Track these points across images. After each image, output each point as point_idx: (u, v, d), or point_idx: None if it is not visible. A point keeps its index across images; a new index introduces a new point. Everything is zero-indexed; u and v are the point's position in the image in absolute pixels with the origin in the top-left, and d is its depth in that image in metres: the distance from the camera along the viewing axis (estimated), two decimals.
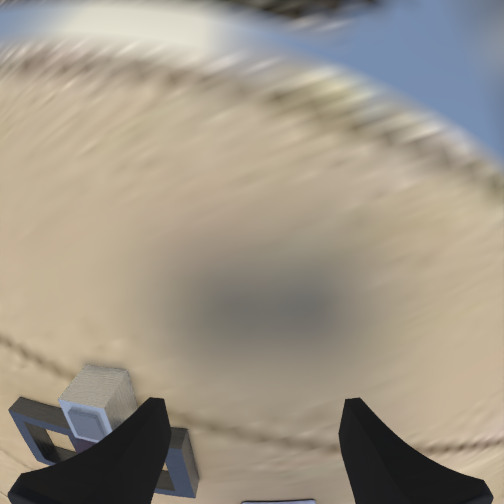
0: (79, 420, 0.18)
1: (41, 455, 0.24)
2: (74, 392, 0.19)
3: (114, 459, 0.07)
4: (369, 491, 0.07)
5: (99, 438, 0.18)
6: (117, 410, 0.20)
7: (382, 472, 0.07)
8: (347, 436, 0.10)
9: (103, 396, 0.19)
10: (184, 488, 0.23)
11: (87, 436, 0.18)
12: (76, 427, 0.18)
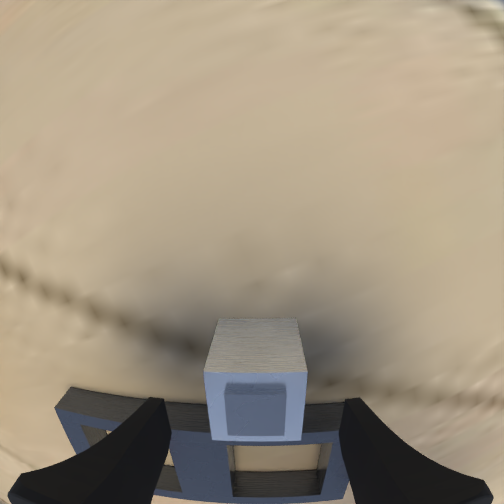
0: (247, 405, 0.12)
1: None
2: (230, 357, 0.13)
3: (114, 459, 0.07)
4: (369, 491, 0.07)
5: (276, 431, 0.12)
6: None
7: (382, 472, 0.07)
8: (347, 436, 0.10)
9: (291, 355, 0.13)
10: (336, 487, 0.17)
11: (250, 433, 0.12)
12: (232, 420, 0.12)
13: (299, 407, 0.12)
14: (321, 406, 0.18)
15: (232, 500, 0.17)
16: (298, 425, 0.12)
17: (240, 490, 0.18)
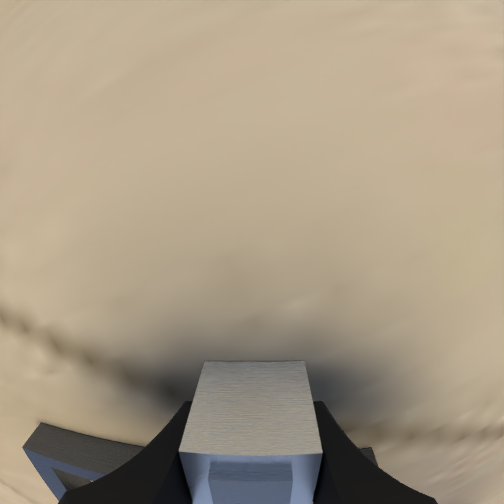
0: (239, 490, 0.07)
1: None
2: (216, 427, 0.09)
3: (163, 468, 0.07)
4: (322, 498, 0.07)
5: None
6: None
7: (330, 480, 0.07)
8: None
9: (299, 424, 0.09)
10: None
11: None
12: (221, 503, 0.08)
13: (308, 488, 0.08)
14: None
15: None
16: (306, 503, 0.08)
17: None
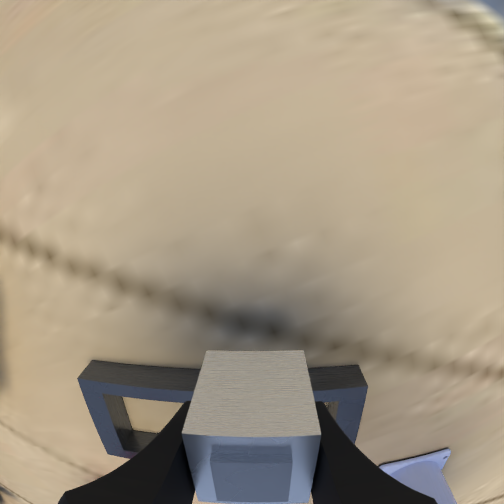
0: (240, 473, 0.08)
1: (119, 445, 0.20)
2: (218, 411, 0.09)
3: (162, 468, 0.07)
4: (322, 498, 0.07)
5: (277, 498, 0.08)
6: None
7: (330, 480, 0.07)
8: None
9: (298, 408, 0.09)
10: None
11: (244, 499, 0.08)
12: (222, 487, 0.08)
13: (308, 472, 0.08)
14: (327, 369, 0.20)
15: None
16: (306, 488, 0.09)
17: None
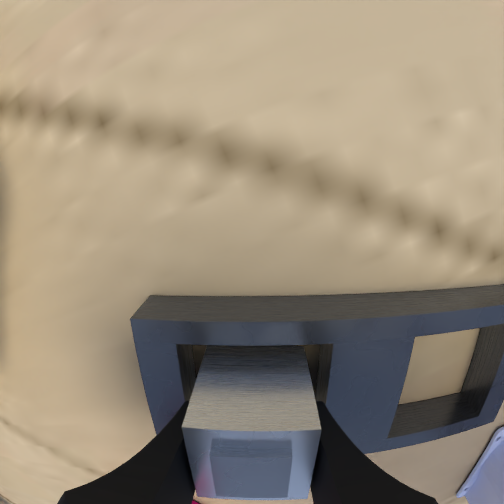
0: (240, 468, 0.08)
1: None
2: (218, 405, 0.09)
3: (162, 468, 0.07)
4: (322, 497, 0.07)
5: (277, 493, 0.08)
6: None
7: (330, 480, 0.07)
8: None
9: (298, 403, 0.09)
10: (495, 402, 0.13)
11: (244, 494, 0.08)
12: (221, 482, 0.08)
13: (307, 467, 0.08)
14: (487, 287, 0.13)
15: (383, 445, 0.13)
16: (305, 484, 0.09)
17: (392, 429, 0.14)
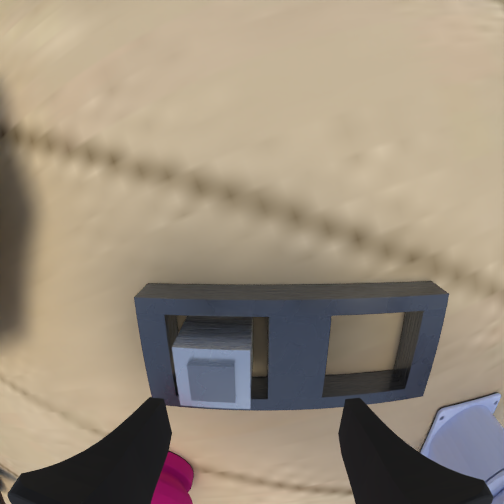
0: (204, 374, 0.16)
1: (171, 388, 0.19)
2: (193, 337, 0.17)
3: (114, 460, 0.07)
4: (369, 491, 0.07)
5: (228, 398, 0.16)
6: None
7: (382, 472, 0.07)
8: (347, 436, 0.10)
9: (240, 338, 0.17)
10: (419, 378, 0.19)
11: (208, 399, 0.16)
12: (194, 387, 0.16)
13: (246, 379, 0.16)
14: (405, 283, 0.19)
15: (320, 403, 0.19)
16: (247, 395, 0.16)
17: (327, 391, 0.20)
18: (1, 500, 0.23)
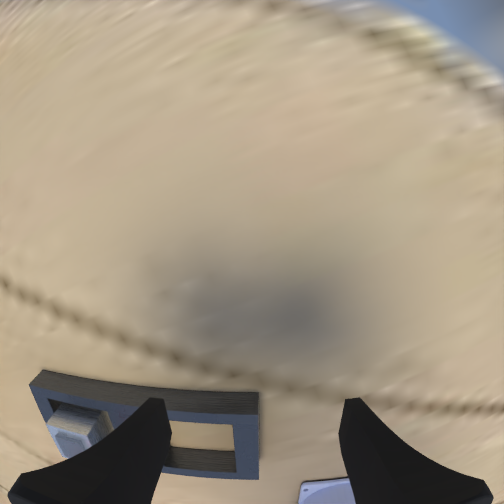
0: (65, 444, 0.18)
1: None
2: (60, 418, 0.19)
3: (114, 460, 0.07)
4: (369, 491, 0.07)
5: None
6: (99, 435, 0.20)
7: (382, 472, 0.07)
8: (347, 436, 0.10)
9: (87, 423, 0.19)
10: (248, 468, 0.21)
11: None
12: (63, 449, 0.18)
13: None
14: (228, 394, 0.22)
15: (164, 470, 0.22)
16: None
17: (171, 462, 0.22)
18: None
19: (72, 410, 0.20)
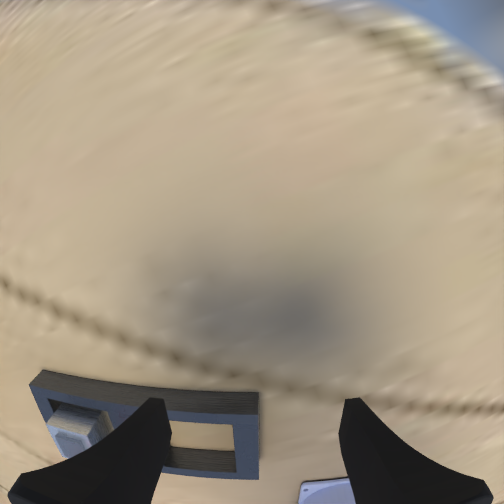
0: (65, 444, 0.18)
1: None
2: (60, 418, 0.19)
3: (114, 460, 0.07)
4: (369, 491, 0.07)
5: None
6: (99, 435, 0.20)
7: (382, 472, 0.07)
8: (347, 436, 0.10)
9: (87, 423, 0.19)
10: (248, 468, 0.21)
11: None
12: (63, 449, 0.18)
13: None
14: (228, 394, 0.22)
15: (164, 470, 0.22)
16: None
17: (171, 462, 0.22)
18: None
19: (72, 410, 0.20)
